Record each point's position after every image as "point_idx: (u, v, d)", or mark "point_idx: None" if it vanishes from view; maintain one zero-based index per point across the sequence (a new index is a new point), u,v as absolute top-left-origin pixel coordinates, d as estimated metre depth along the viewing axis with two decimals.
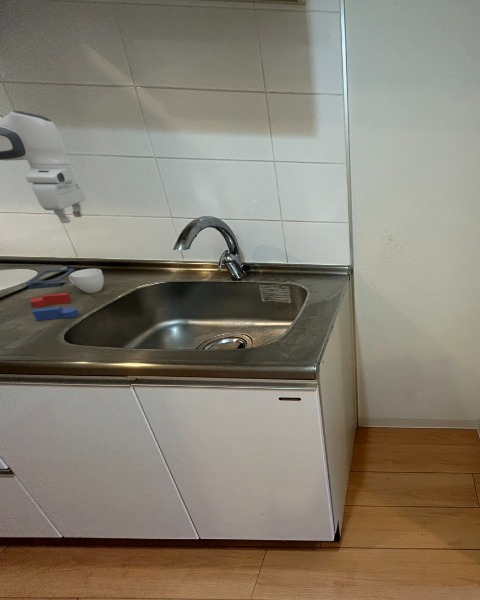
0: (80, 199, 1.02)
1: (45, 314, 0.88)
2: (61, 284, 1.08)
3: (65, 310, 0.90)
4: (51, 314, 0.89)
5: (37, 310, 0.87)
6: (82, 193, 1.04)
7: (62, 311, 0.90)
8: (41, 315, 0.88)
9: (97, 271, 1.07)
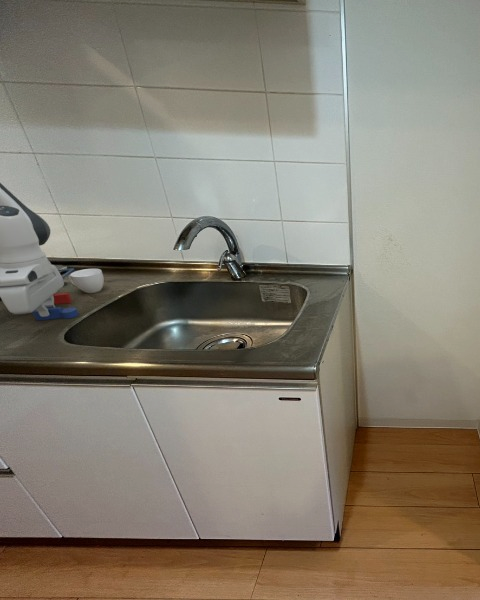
0: (57, 288, 0.91)
1: None
2: None
3: (65, 310, 0.90)
4: (51, 314, 0.89)
5: None
6: (61, 278, 0.93)
7: (62, 311, 0.90)
8: None
9: (97, 271, 1.07)
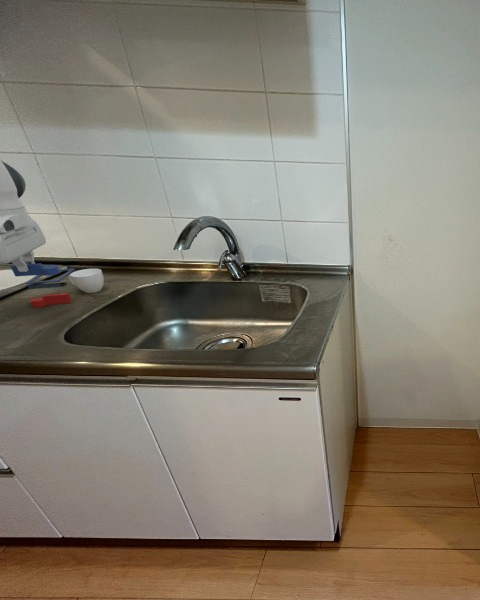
0: (38, 244, 0.88)
1: None
2: (61, 284, 1.08)
3: (45, 267, 0.87)
4: (30, 270, 0.85)
5: None
6: (42, 235, 0.90)
7: (42, 267, 0.86)
8: None
9: (97, 271, 1.07)
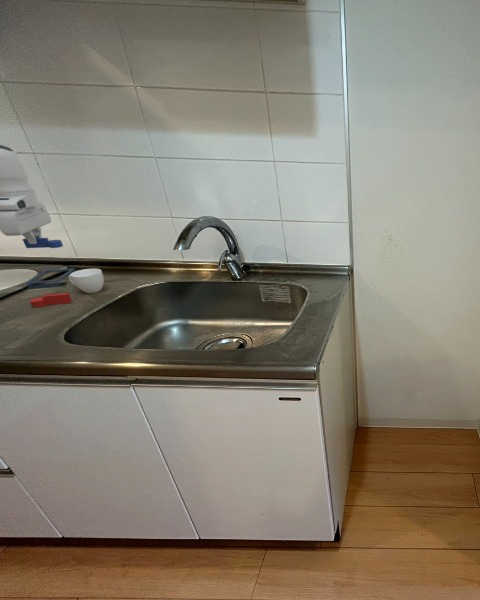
0: (45, 222, 1.06)
1: None
2: (61, 284, 1.08)
3: (51, 241, 1.05)
4: (39, 243, 1.03)
5: None
6: (48, 215, 1.08)
7: (48, 241, 1.04)
8: None
9: (97, 271, 1.07)
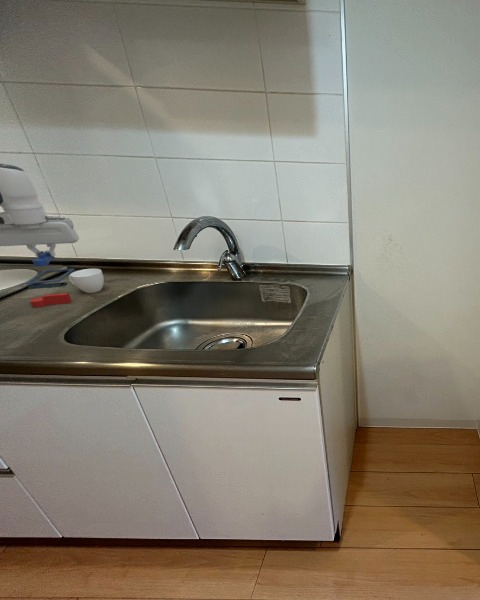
0: (57, 241, 1.07)
1: None
2: (61, 284, 1.08)
3: (40, 258, 1.05)
4: None
5: None
6: (69, 236, 1.07)
7: (38, 258, 1.05)
8: None
9: (97, 271, 1.07)
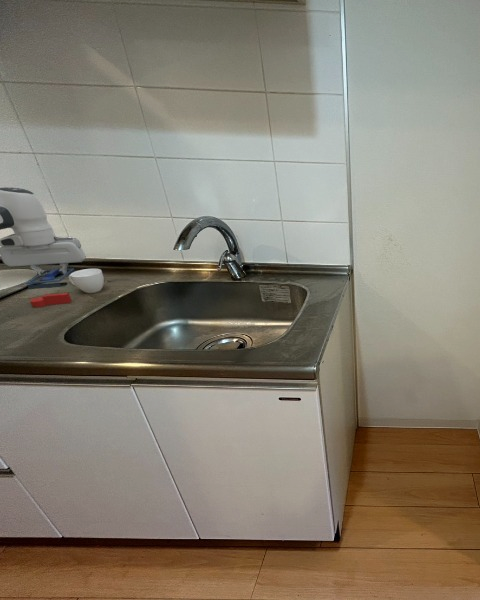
0: (64, 261, 1.10)
1: None
2: (61, 284, 1.08)
3: (48, 277, 1.08)
4: None
5: (54, 269, 1.12)
6: (76, 256, 1.10)
7: None
8: None
9: (97, 271, 1.07)
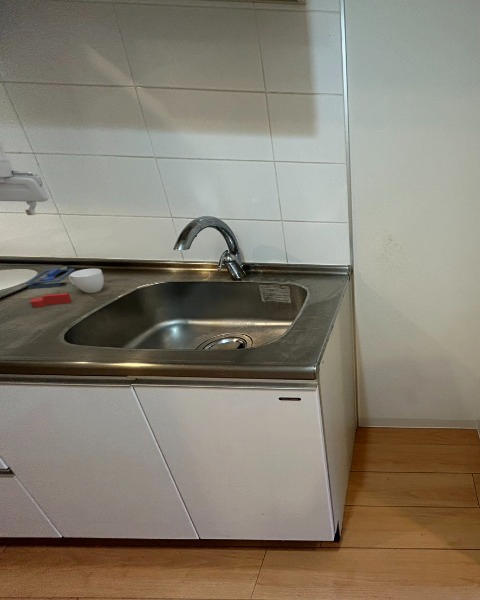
0: (23, 199, 1.00)
1: None
2: (61, 284, 1.08)
3: (48, 277, 1.08)
4: None
5: (54, 269, 1.12)
6: (37, 194, 1.01)
7: None
8: None
9: (97, 271, 1.07)
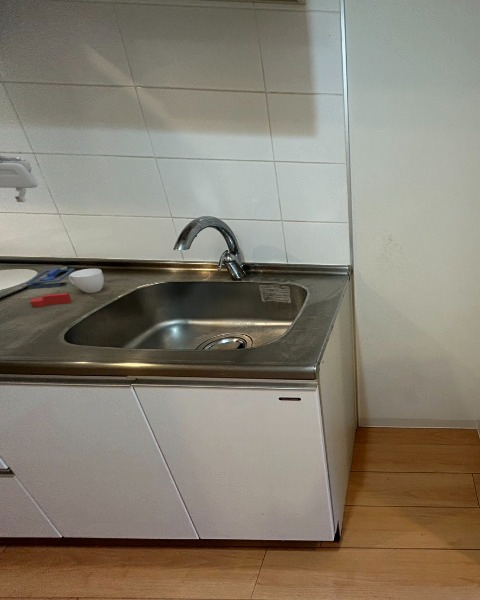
0: (12, 185, 0.99)
1: None
2: (61, 284, 1.08)
3: (48, 277, 1.08)
4: None
5: (54, 269, 1.12)
6: (26, 180, 1.00)
7: None
8: None
9: (97, 271, 1.07)
